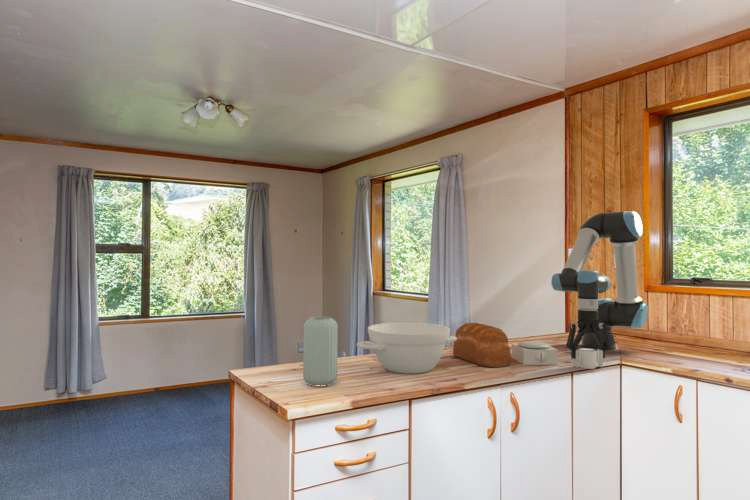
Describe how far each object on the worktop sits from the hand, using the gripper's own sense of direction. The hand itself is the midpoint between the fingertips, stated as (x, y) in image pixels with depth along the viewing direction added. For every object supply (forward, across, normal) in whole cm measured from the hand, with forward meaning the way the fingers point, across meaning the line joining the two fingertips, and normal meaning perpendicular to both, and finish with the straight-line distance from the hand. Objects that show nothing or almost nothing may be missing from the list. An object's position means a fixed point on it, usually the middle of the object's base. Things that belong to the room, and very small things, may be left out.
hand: (587, 366), depth 194 cm
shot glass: (0, 0, 0) cm, 0 cm away
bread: (+1, -39, +14) cm, 41 cm away
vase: (0, -104, -20) cm, 106 cm away
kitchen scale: (0, -17, +12) cm, 21 cm away
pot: (+1, -71, +1) cm, 71 cm away
